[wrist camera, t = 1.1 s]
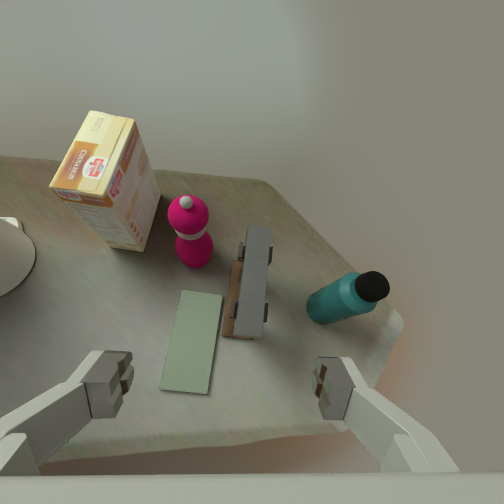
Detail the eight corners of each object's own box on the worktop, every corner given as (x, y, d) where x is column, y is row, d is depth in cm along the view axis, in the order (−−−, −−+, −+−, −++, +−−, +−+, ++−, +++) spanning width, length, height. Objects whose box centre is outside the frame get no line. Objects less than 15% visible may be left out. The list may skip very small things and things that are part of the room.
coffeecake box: (130, 189, 53) (88, 108, 36) (162, 194, 54) (137, 117, 36) (108, 248, 47) (45, 186, 30) (144, 253, 48) (103, 195, 30)
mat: (159, 388, 39) (158, 389, 39) (182, 290, 46) (182, 289, 45) (207, 393, 40) (207, 393, 39) (222, 296, 47) (222, 295, 46)
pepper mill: (186, 235, 51) (170, 170, 33) (217, 245, 51) (219, 186, 33) (172, 264, 48) (147, 211, 30) (206, 275, 48) (201, 228, 30)
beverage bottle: (322, 332, 47) (390, 320, 29) (296, 311, 48) (346, 286, 30) (337, 307, 50) (408, 282, 32) (312, 287, 51) (367, 252, 32)
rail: (232, 335, 32) (234, 333, 29) (246, 233, 39) (248, 224, 36) (257, 338, 32) (261, 336, 30) (267, 237, 39) (271, 228, 36)
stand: (221, 335, 44) (224, 329, 31) (232, 262, 50) (239, 231, 37) (252, 339, 45) (268, 334, 32) (259, 266, 51) (275, 237, 38)
